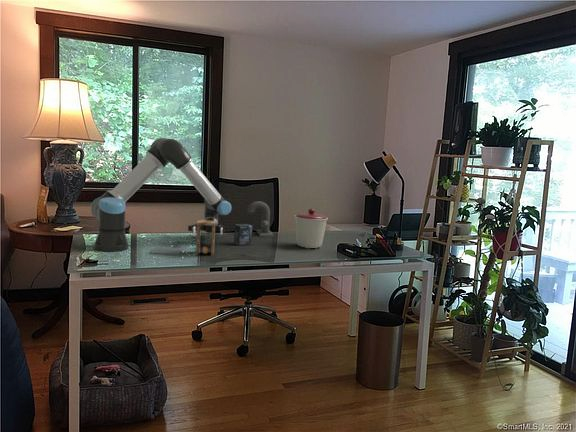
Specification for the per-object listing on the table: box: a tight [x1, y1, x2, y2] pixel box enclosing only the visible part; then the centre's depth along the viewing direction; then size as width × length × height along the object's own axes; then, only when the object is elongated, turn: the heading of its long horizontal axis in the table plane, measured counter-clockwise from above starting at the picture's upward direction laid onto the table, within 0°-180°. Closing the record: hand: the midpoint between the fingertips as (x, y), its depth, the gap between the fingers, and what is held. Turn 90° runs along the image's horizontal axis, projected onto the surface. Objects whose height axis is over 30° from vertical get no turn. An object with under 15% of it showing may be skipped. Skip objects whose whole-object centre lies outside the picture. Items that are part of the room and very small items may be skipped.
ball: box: [201, 246, 210, 255], centre depth 236 cm, size 4×4×4 cm
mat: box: [150, 246, 183, 256], centre depth 236 cm, size 13×13×1 cm
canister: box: [294, 207, 329, 249], centre depth 268 cm, size 18×18×21 cm
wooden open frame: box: [195, 219, 216, 257], centre depth 235 cm, size 8×8×16 cm
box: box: [233, 223, 253, 246], centre depth 264 cm, size 8×6×11 cm
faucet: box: [246, 200, 275, 238], centre depth 297 cm, size 18×16×20 cm
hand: (207, 231), depth 245 cm, fingers open, 13 cm apart
